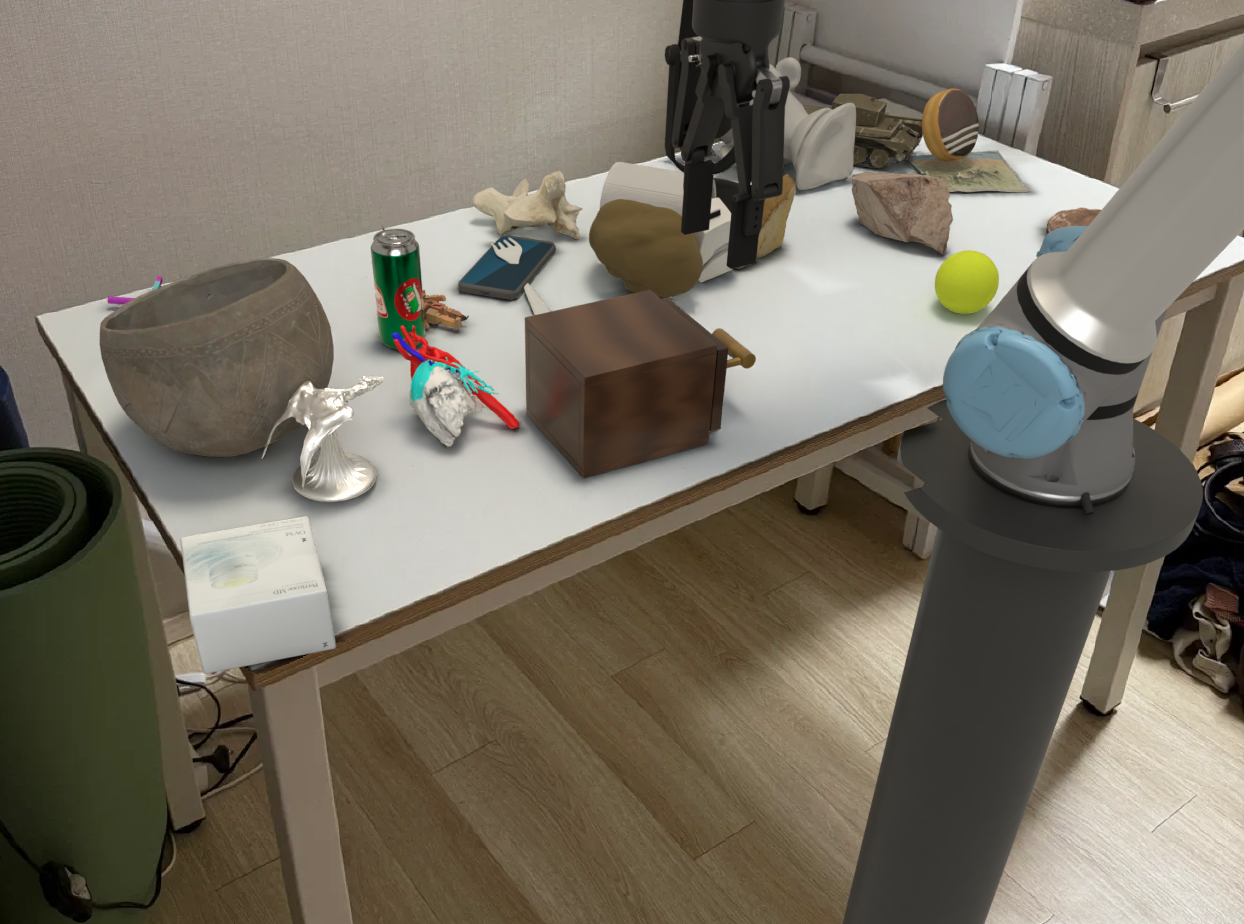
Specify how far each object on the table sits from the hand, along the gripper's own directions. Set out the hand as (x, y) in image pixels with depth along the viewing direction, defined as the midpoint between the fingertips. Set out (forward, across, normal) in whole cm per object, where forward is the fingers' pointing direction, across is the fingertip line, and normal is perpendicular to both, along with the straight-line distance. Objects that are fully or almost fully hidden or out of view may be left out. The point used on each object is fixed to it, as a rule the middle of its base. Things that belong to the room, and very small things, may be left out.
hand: (717, 246), depth 119 cm
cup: (+13, +42, -11) cm, 45 cm away
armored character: (+12, +25, +16) cm, 32 cm away
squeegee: (+16, +47, +51) cm, 71 cm away
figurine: (+17, +3, +38) cm, 42 cm away
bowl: (+17, +13, +43) cm, 48 cm away
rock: (+17, +29, -24) cm, 42 cm away
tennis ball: (+14, +6, -38) cm, 41 cm away
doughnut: (+7, +44, -64) cm, 78 cm away
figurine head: (+15, +42, -48) cm, 66 cm away
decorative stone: (+16, +26, -4) cm, 31 cm away
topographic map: (+17, +38, -66) cm, 78 cm away
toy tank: (+17, +52, -55) cm, 78 cm away
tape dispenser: (+17, +27, -17) cm, 36 cm away
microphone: (+17, +44, -26) cm, 53 cm away
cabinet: (+17, 0, +10) cm, 20 cm away
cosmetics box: (+14, -8, +49) cm, 52 cm away
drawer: (+16, 0, +5) cm, 17 cm away
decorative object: (+17, +42, -2) cm, 45 cm away
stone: (+17, +26, -44) cm, 54 cm away
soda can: (+17, +26, +23) cm, 39 cm away
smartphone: (+17, +37, +5) cm, 41 cm away
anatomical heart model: (+17, +9, +25) cm, 31 cm away
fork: (+15, +33, +5) cm, 37 cm away
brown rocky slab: (+17, +14, -66) cm, 69 cm away
